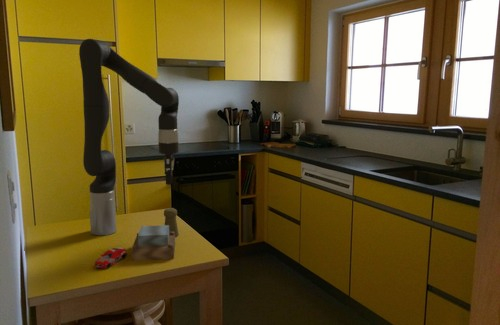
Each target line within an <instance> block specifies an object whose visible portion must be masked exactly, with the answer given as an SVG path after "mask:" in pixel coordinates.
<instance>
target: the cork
mask: <svg viewBox="0 0 500 325" xmlns="http://www.w3.org/2000/svg"><path fill="white" fill-rule="evenodd" d="M163 216H164V225H169V234H170V232H175V238H177V237H179V234H180V233H179V228H178V221H177V216H178V210H177V209H176V208H174V207H169V208H165V209H164V210H163Z"/></svg>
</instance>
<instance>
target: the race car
mask: <svg viewBox="0 0 500 325" xmlns="http://www.w3.org/2000/svg"><path fill="white" fill-rule="evenodd" d="M127 255H128V251H127V249H126V248H125V247H112V248H109V249H107V251H104V252H103V254H100V257H98V258H97V259H96V260H95V261H94V263H93V264H94V268H95V269H99V270H100V269H101V270H105V269H110V268H111V267H112V266H115V264H117V263H119V262H120V261H122V260H124V259H125V257H127Z"/></svg>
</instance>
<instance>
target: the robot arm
mask: <svg viewBox="0 0 500 325" xmlns="http://www.w3.org/2000/svg"><path fill="white" fill-rule="evenodd" d="M78 56H79V61H80V62H79V63H80V68H81V75H82V77H81V78H82V92H83V93H82V95H83V96H82V98H83V100H82V102H83V119H84V120H83V121H84V144H83V158H82V159H83V167H84V170H85V172H86V174H88V175H89V176H91V177H95V178H94V180H93V181H92V182H91V183H90V184H89V198H90V199H89V201H90V211H89V220H90V223H89V225H90V235H95V236H108V235H111V234H114V233H115V232H116V233H117V216H116V200H115V184H116V181H117V179H116V178H117V170H116V169H117V164H116V158H115V155H114V154H113V153H112V152H111V151H109V150H108V149H102V139H103V137H104V133H105V132H106V129H107V126H108V123H109V121H110V101H109V96H108V94H107V93H108V92H107V90H106V87H105V85H104V82H103V77H102V67H104V68H106V69H108V70H111V71H113V72H114V73H116V74H117V75H118V76H119V77H121V78H122V79H123V80H124V81H125V82H126V83H127V84H129V85H130V86H131V87H133V88H134V89H135V90H137V91H138V92H141V93H142V94H144V95H145V96H147V97H148V98H149V99H150V100H151V101H153V102H154V103H155V104H156V105H158V106H160V109H161V110H160V114H159V115H158V133H157V138H158V139H157V140H158V144H157V145H158V153H159V154H161V155H165V157H163V162H162V163H163V169H164V176H165V185H167V186H171V185H173V184H172V183H173V179H174V173H173V172H174V166H175V157H174V154H178V153H179V152H180V151H179V149H180V148H179V132H178V111H179V103H180V102H179V100H180V96H179V94H178V92H177V90H176V89H174V88H172V87H166V86H164V85H162V84H161V83H159V82H158V81H157V80H156V78H155V77H153V76H152V75H150V74H149V73H147V72H145V71H143V69H141V68H139V67H137V66H135V65H134V64H132V63H130V62H129V61H127V59H125V58H123V57H122V56H121V55H120V54H119V53H118V52H116V51H115V50H114V49H113V48H112V47H111V46H110V45H108V43H107V42H105V41H102V40H99V39H95V38H85V39H84V40H83V41H82V42H81V44H80V46H79V52H78Z"/></svg>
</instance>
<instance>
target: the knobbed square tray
mask: <svg viewBox="0 0 500 325" xmlns="http://www.w3.org/2000/svg"><path fill="white" fill-rule="evenodd" d="M131 247H132V248H131V260H132V261H151V260H169V259H175V252H176V237H175V232H170V234H169V225H165V224H163V225H161V224H160V225H141V226H140V229H139V232H137V233H136V236H135V239H134V242H133V245H132V246H131Z"/></svg>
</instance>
